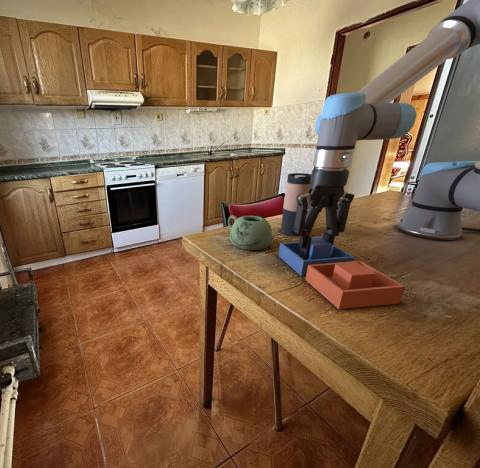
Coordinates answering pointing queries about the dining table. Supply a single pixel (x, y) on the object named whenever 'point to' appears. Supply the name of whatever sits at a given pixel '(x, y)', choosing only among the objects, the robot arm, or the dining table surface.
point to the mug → (250, 232)
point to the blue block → (319, 249)
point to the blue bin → (292, 258)
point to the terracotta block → (352, 276)
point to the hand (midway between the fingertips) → (313, 257)
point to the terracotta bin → (379, 293)
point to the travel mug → (293, 200)
